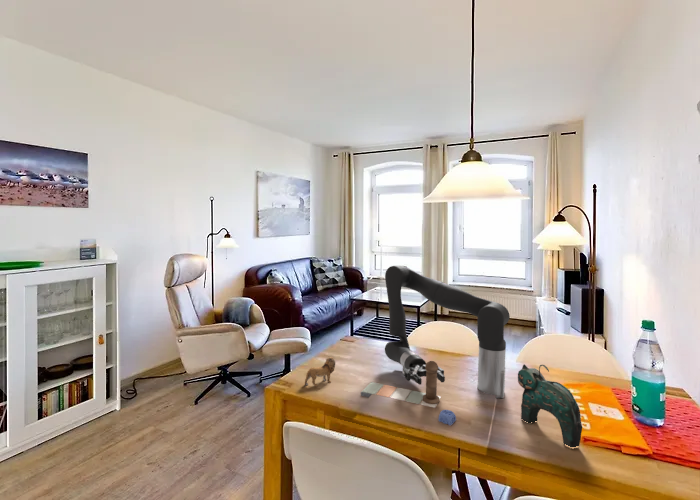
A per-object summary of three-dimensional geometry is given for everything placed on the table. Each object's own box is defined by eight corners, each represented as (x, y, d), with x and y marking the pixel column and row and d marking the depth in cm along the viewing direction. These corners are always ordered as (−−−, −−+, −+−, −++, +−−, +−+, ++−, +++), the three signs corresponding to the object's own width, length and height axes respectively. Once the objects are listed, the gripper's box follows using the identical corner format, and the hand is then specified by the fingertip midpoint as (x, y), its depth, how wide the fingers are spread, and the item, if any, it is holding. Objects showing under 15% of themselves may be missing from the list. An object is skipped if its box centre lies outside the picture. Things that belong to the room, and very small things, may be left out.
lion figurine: (330, 376, 151) (330, 354, 150) (338, 380, 147) (338, 358, 146) (300, 386, 141) (300, 363, 141) (308, 390, 137) (308, 367, 137)
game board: (441, 399, 131) (441, 396, 131) (435, 412, 122) (435, 408, 122) (371, 384, 143) (371, 381, 143) (360, 395, 134) (360, 391, 134)
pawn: (440, 398, 129) (441, 360, 128) (437, 405, 124) (438, 365, 123) (425, 395, 131) (425, 357, 130) (420, 401, 126) (421, 362, 125)
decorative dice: (443, 420, 117) (444, 408, 117) (455, 424, 115) (456, 412, 115) (438, 425, 114) (438, 413, 114) (450, 430, 112) (450, 417, 111)
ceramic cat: (514, 417, 119) (516, 357, 118) (529, 414, 122) (531, 354, 120) (569, 453, 101) (573, 381, 100) (586, 448, 103) (590, 378, 102)
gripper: (395, 355, 140) (413, 371, 125) (430, 352, 144) (451, 368, 128) (395, 374, 141) (412, 393, 125) (429, 371, 144) (450, 389, 129)
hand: (432, 380), depth 127 cm, fingers open, 8 cm apart
